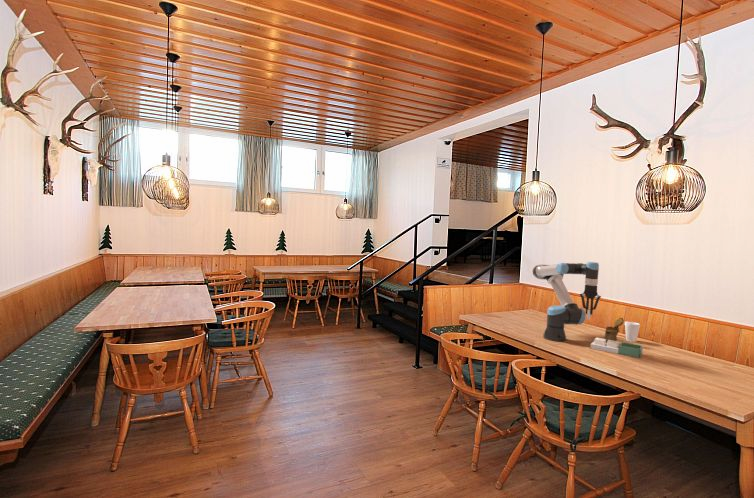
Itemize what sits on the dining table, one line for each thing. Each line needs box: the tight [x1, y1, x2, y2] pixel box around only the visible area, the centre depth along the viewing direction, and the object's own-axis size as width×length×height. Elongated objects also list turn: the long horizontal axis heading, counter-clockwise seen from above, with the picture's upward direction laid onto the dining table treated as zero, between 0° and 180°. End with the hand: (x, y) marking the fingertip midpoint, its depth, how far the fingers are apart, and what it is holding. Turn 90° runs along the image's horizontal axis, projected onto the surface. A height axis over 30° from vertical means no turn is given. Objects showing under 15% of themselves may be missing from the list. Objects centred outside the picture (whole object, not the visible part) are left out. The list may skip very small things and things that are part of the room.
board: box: [590, 340, 621, 355], centre depth 272 cm, size 16×12×3 cm
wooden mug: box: [603, 317, 625, 343], centre depth 288 cm, size 9×14×18 cm, turn 104°
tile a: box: [593, 337, 606, 345], centre depth 274 cm, size 6×6×3 cm
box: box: [617, 341, 644, 359], centre depth 263 cm, size 12×12×6 cm
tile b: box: [607, 340, 620, 348], centre depth 269 cm, size 6×6×3 cm
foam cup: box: [624, 321, 641, 343], centre depth 298 cm, size 10×9×13 cm
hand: (588, 319), depth 278 cm, fingers closed
